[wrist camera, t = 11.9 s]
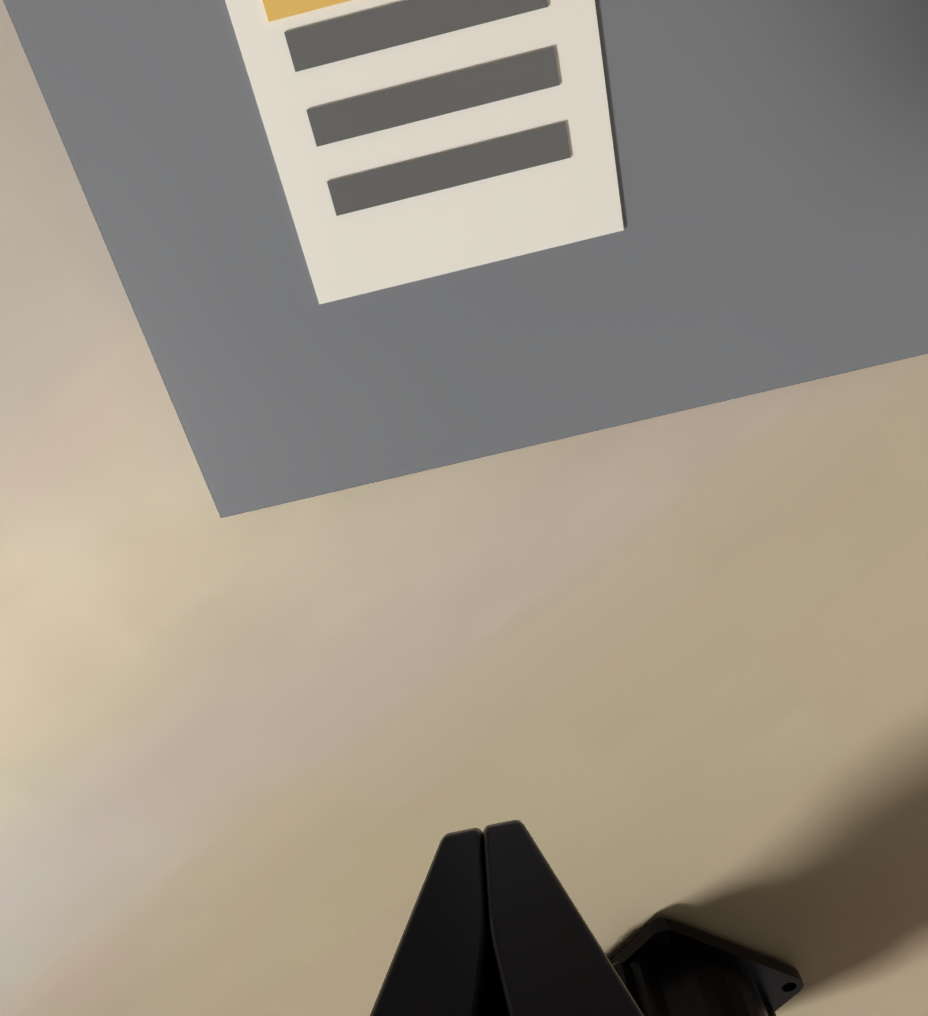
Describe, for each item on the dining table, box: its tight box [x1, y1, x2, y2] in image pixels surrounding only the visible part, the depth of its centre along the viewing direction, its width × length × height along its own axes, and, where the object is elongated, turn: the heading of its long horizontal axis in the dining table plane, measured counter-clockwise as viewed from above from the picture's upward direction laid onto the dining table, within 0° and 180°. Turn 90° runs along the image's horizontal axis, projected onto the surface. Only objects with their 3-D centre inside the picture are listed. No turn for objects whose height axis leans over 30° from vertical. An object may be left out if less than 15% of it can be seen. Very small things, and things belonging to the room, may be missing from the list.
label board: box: [3, 0, 928, 518], centre depth 14 cm, size 14×26×1 cm, turn 103°
